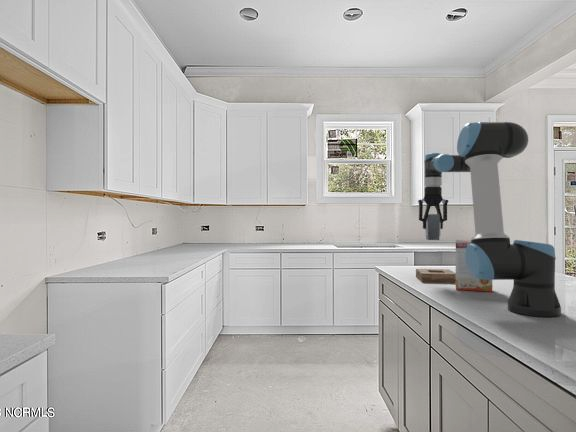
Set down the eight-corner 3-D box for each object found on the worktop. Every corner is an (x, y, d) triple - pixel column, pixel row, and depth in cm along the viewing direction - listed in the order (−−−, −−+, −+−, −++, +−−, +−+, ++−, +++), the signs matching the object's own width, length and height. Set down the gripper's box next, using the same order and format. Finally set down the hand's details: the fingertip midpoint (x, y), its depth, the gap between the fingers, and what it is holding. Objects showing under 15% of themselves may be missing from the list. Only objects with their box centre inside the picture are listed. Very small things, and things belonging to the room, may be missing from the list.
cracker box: (491, 289, 170) (491, 240, 170) (492, 292, 165) (492, 241, 164) (455, 287, 176) (455, 239, 175) (455, 289, 170) (455, 240, 170)
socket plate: (457, 283, 186) (457, 274, 186) (421, 282, 188) (421, 273, 188) (448, 277, 202) (448, 269, 202) (415, 276, 204) (415, 268, 204)
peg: (439, 240, 188) (439, 214, 188) (428, 240, 188) (428, 214, 188) (436, 239, 193) (437, 214, 192) (425, 239, 193) (426, 214, 193)
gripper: (450, 186, 193) (450, 235, 193) (411, 187, 195) (411, 235, 195) (455, 186, 185) (454, 236, 186) (414, 186, 187) (414, 236, 188)
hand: (432, 235), depth 191 cm, fingers closed on peg, 5 cm apart
